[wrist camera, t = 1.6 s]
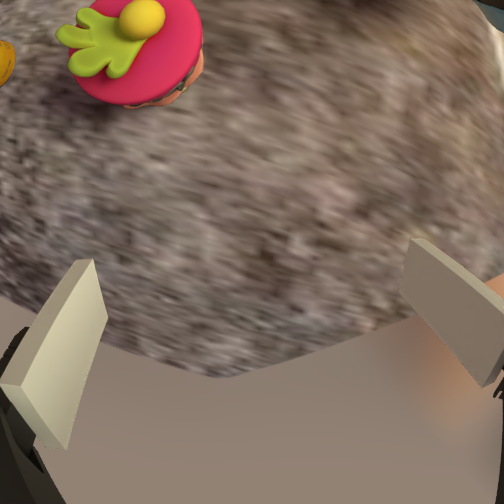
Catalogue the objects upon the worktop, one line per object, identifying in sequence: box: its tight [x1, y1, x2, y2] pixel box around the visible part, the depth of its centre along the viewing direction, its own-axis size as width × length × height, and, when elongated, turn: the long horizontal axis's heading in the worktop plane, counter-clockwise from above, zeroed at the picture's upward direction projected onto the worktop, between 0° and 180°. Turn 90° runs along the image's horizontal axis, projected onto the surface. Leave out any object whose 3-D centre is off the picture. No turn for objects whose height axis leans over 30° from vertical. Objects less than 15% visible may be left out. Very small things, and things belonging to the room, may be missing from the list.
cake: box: [55, 0, 204, 109], centre depth 20 cm, size 10×11×15 cm
